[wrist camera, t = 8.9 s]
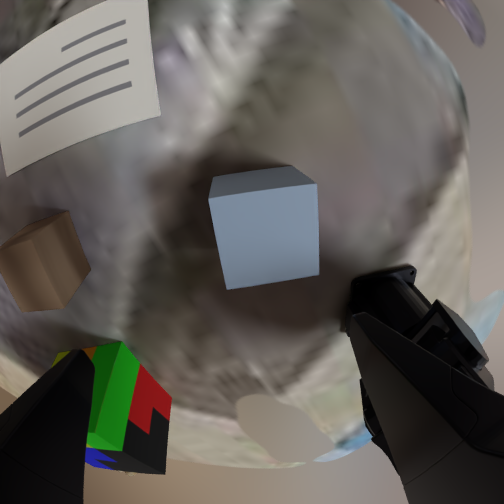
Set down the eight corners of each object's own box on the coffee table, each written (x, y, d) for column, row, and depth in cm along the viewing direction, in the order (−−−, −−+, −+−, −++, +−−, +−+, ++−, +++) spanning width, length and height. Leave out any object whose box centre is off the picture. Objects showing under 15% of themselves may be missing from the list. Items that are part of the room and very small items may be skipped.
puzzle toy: (108, 402, 27) (93, 466, 18) (58, 352, 23) (28, 422, 14) (171, 397, 27) (165, 474, 18) (122, 340, 22) (94, 432, 13)
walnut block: (69, 210, 16) (31, 239, 12) (91, 269, 18) (64, 308, 14) (27, 224, 16) (-8, 253, 12) (49, 276, 18) (22, 312, 14)
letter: (147, -13, 9) (146, -14, 9) (161, 115, 14) (160, 115, 14) (-4, 68, 9) (-5, 68, 9) (8, 176, 14) (7, 176, 14)
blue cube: (292, 165, 16) (316, 183, 12) (297, 236, 19) (319, 274, 14) (213, 176, 16) (208, 198, 12) (226, 247, 19) (226, 289, 14)
